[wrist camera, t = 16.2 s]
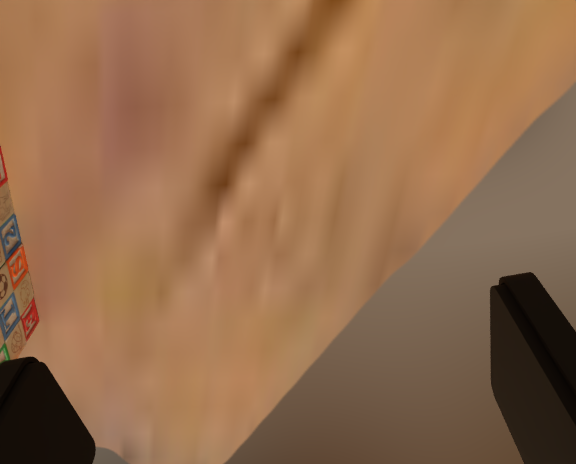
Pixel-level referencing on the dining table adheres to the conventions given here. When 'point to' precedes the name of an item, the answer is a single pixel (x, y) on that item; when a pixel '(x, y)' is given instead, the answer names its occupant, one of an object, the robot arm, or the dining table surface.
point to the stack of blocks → (13, 280)
